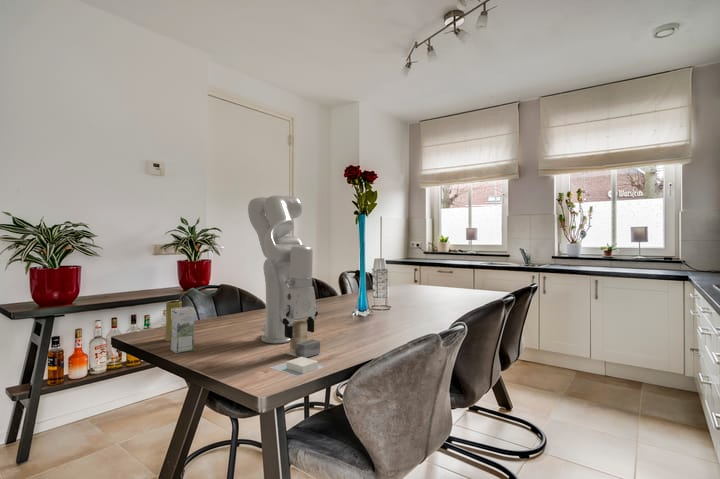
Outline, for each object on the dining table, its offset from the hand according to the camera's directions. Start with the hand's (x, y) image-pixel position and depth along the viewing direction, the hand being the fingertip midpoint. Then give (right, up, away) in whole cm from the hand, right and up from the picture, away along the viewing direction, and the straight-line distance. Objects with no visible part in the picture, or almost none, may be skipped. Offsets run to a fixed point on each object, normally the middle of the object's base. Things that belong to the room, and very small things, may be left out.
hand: (299, 334), depth 128 cm
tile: (0, -5, -13) cm, 14 cm away
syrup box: (-40, -6, +3) cm, 41 cm away
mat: (+2, -6, -14) cm, 16 cm away
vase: (-50, -6, +17) cm, 53 cm away
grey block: (+1, -6, -1) cm, 6 cm away
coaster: (0, -6, -1) cm, 6 cm away
